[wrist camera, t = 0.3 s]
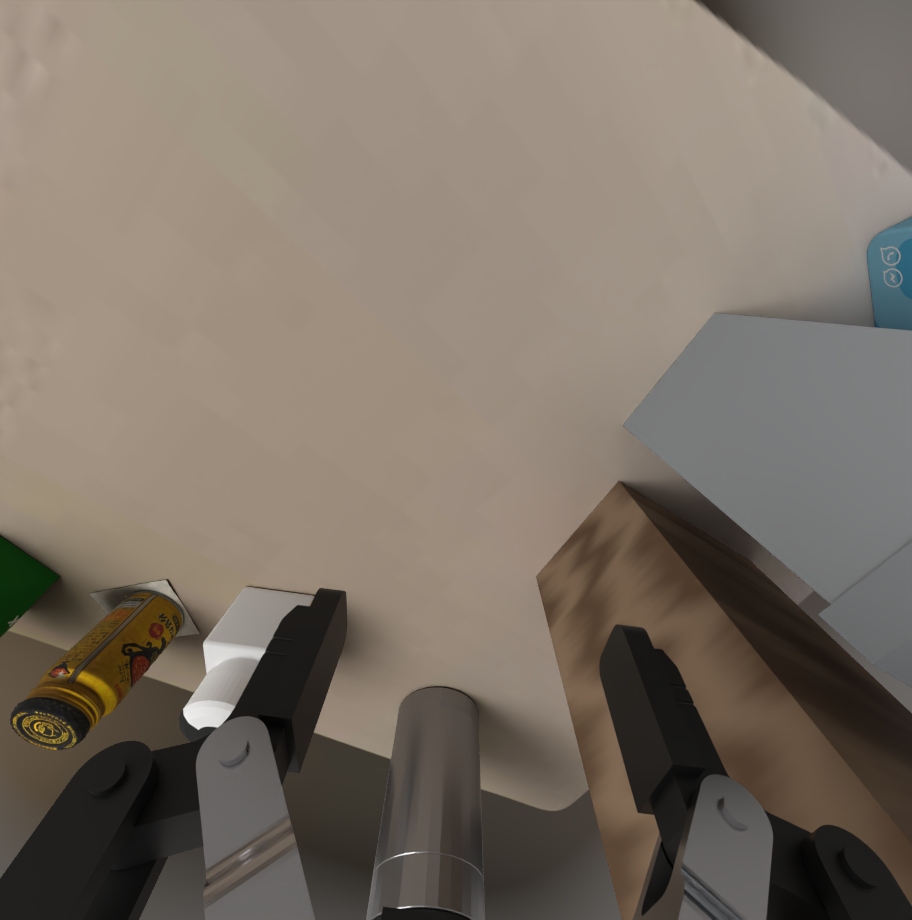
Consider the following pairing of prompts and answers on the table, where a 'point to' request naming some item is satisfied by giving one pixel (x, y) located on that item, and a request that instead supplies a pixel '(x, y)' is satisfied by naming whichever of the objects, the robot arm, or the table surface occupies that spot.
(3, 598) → the milk carton
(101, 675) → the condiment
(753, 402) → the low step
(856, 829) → the wooden column with lip
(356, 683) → the table surface
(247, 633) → the medicine bottle
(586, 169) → the table surface
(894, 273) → the data package
